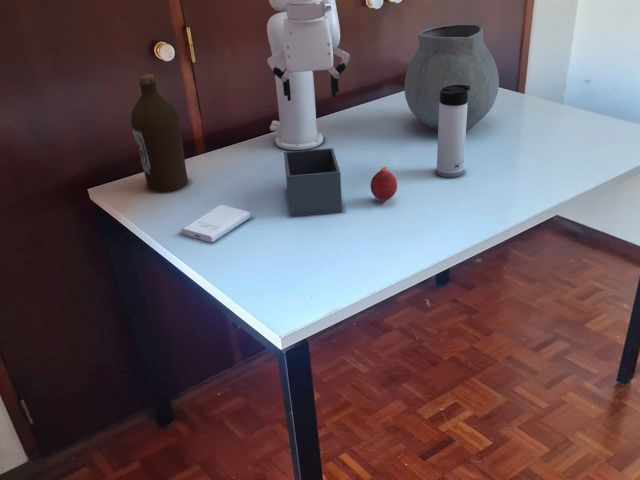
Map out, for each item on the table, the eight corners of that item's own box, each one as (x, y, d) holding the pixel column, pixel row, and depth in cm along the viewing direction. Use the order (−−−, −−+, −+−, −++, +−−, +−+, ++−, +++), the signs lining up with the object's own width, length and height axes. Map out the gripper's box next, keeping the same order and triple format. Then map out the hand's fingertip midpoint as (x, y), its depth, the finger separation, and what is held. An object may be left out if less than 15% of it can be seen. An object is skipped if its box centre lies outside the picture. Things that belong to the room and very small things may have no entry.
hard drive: (250, 218, 152) (212, 243, 143) (221, 211, 155) (182, 234, 147) (249, 211, 151) (211, 236, 142) (220, 204, 154) (181, 227, 146)
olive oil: (184, 172, 173) (164, 66, 158) (195, 187, 166) (176, 78, 151) (141, 180, 170) (116, 73, 155) (150, 197, 162) (125, 86, 147)
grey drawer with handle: (286, 181, 167) (282, 144, 161) (332, 177, 168) (330, 140, 162) (291, 216, 152) (287, 176, 146) (342, 211, 153) (340, 172, 147)
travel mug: (463, 178, 164) (469, 91, 152) (435, 177, 166) (438, 90, 154) (465, 168, 169) (471, 82, 157) (437, 166, 170) (441, 81, 158)
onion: (397, 207, 154) (397, 172, 149) (371, 207, 154) (370, 172, 149) (396, 195, 158) (396, 161, 154) (370, 196, 159) (370, 162, 154)
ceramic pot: (433, 106, 206) (436, 13, 191) (510, 120, 194) (520, 22, 179) (387, 132, 190) (386, 33, 175) (467, 149, 179) (474, 45, 164)
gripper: (346, 4, 146) (349, 89, 156) (262, 10, 145) (271, 95, 155) (350, 12, 140) (353, 100, 150) (262, 17, 139) (271, 105, 149)
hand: (311, 97), depth 153 cm, fingers open, 9 cm apart
